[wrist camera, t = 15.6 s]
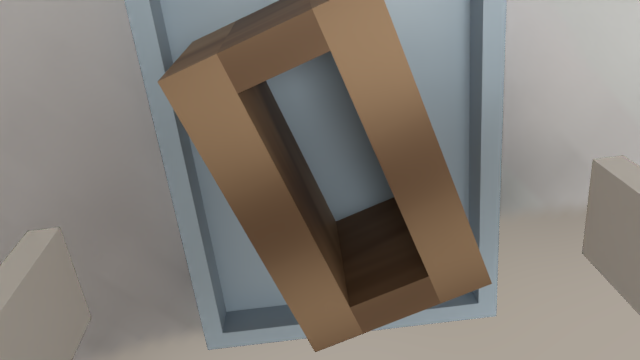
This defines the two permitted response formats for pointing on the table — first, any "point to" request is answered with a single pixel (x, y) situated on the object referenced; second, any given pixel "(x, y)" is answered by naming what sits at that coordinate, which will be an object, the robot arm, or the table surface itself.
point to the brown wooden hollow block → (299, 183)
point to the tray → (331, 150)
